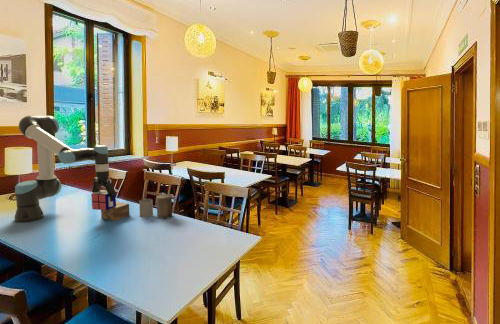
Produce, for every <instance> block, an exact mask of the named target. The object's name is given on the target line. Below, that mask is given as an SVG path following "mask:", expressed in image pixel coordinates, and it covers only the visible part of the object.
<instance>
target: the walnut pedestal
mask: <svg viewBox="0 0 500 324" xmlns="http://www.w3.org/2000/svg"><path fill="white" fill-rule="evenodd" d="M130 213H131V212H130V204H129V203H127V202H122V201H121V202H120V201H116V206H115V207H113V208H110V209H108V210H100V215H101V219H105V220H107V221H113V222H116V221H118V220H121V219H124V218H127V217H130V215H131V214H130Z"/></svg>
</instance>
